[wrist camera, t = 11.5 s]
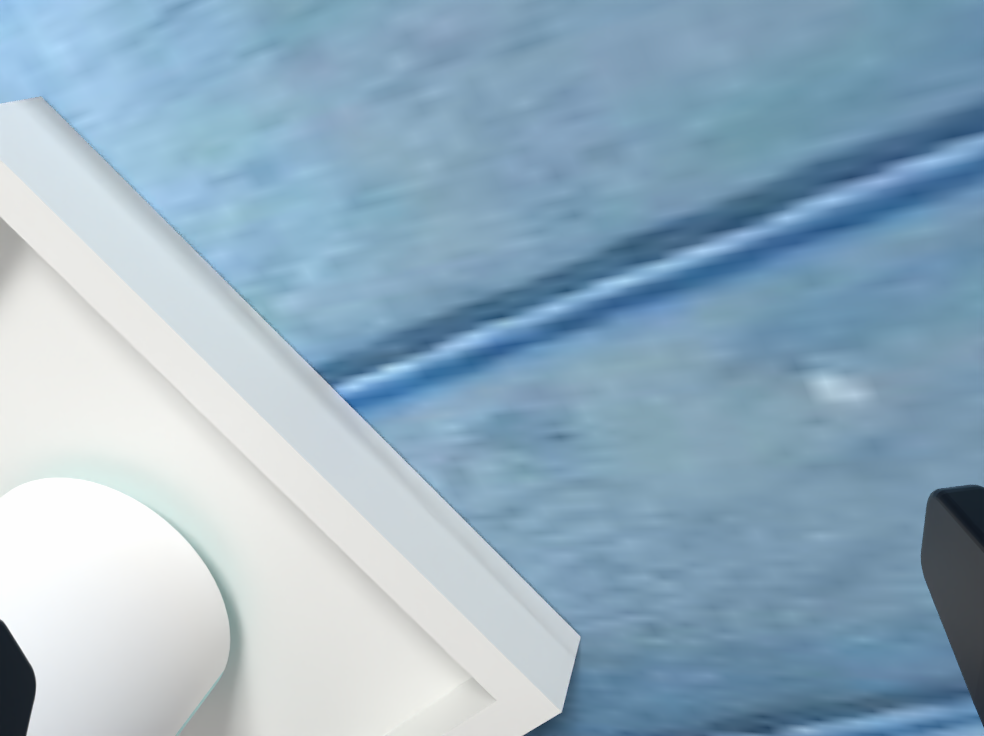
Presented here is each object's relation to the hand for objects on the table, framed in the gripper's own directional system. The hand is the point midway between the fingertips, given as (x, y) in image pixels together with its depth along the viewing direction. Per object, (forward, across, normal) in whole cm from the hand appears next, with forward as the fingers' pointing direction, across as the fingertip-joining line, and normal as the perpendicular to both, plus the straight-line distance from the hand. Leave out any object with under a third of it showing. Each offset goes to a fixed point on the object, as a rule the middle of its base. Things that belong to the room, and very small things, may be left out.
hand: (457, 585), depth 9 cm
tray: (+12, +10, +10) cm, 18 cm away
